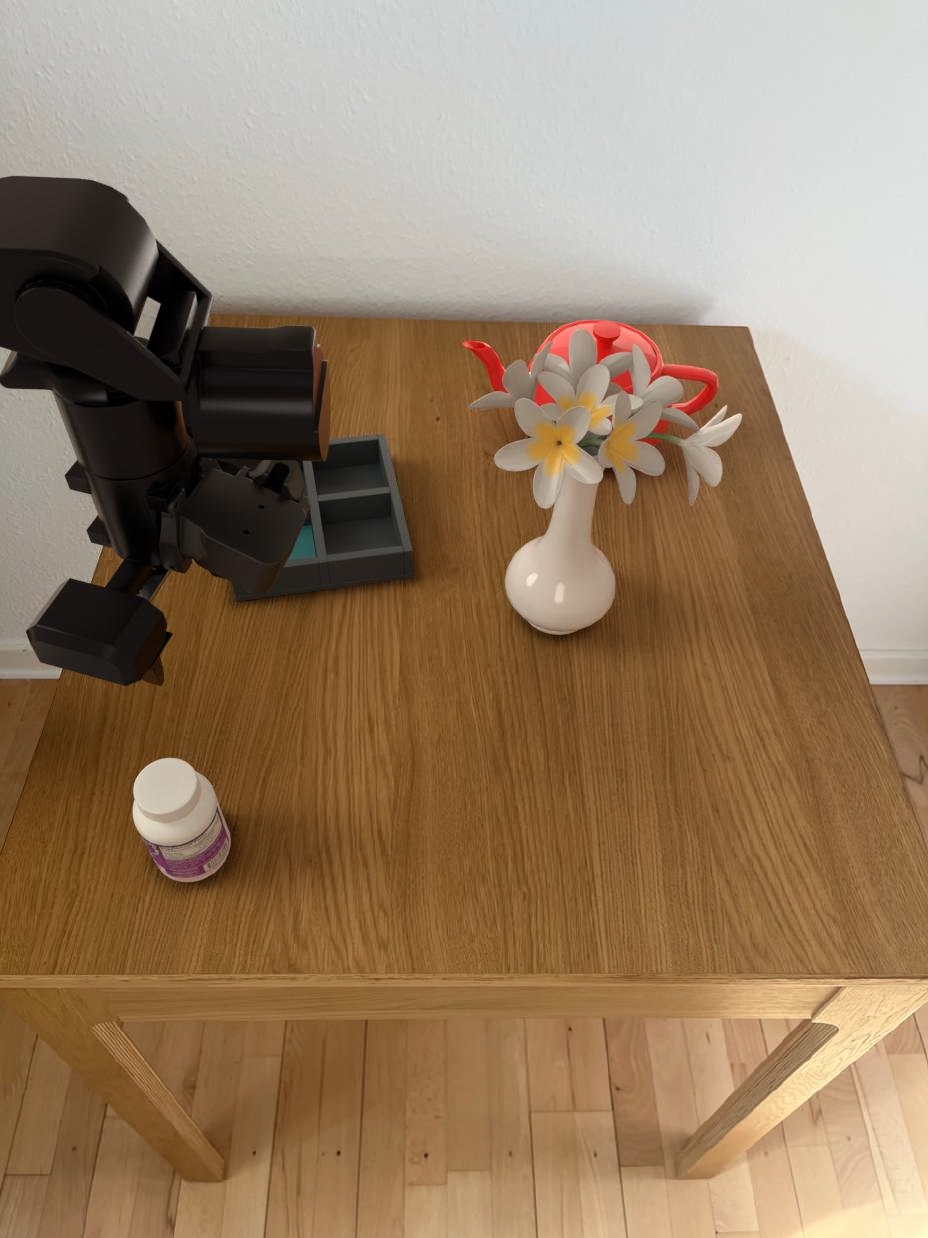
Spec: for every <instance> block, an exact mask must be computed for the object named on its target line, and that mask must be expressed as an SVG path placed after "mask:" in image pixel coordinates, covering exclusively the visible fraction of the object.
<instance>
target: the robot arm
mask: <svg viewBox="0 0 928 1238" xmlns="http://www.w3.org/2000/svg"><path fill="white" fill-rule="evenodd" d="M148 298H149V299H151V300H153V301H154V302H157V303H158V304H160V305H159V308H158V311H157V313H156V317H155V320H154V322H153V325H152V328H151V332H150V334H149V337H148V338H146V337H142V336H138V335H135V334H136V332H137V328H138V325H139V322H140V320H141V317H142V314H143V312H144V308H145V305H146V303H147V300H148ZM214 301H215V297H214V294H213V293H212V292H211V291H210V290H209V289H208V288H207V287H206V286H205V285H204V284H203V283H202V282H201V281H200V280H199V279H197V277H196V276H195V275H194V274H193V273H192V272H191V271H189V270H188V268H187V267H186V266H184V264H183V263H182V262H181V261H179V259H178V258H176V256H174V255H173V254H172V253H171V252H170V250H168V249H167V248H166V247H165V245H163V244H162V242H160V241H159V239H157V238H156V237H155V235H154V232H153V231H152V229H151V227H150V226H149V224H148V222H147V220H146V218H145V217H144V216H143V215H142V214H141V213H140V212H139V211H138V210H137V209H136V208H135V207H134V206H133V205H132V203H131V202H130V199H129V197H128V196H127V195H126V194H124V193H122V192H121V191H119V190H118V189H116V188H115V187H112V186H111V185H107V184H105V183H102V182H101V181H100V182H99V181H97V180H93V179H87V178H79V177H58V176H57V177H56V176H55V177H54V176H32V175H9V176H3V177H0V348H1V349H4V350H8V351H10V352H9V354H8V356H7V359H6V361H5V363H4V365H3V367H2V369H1V371H0V386H2V387H3V388H5V389H9V390H37V391H38V390H40V391H41V390H43V391H50V392H51V393H52V396H53V398H54V402H55V404H56V406H57V409H58V412H59V415H60V417H61V419H62V422H63V425H64V428H65V430H66V433H67V436H68V438H69V440H70V441H69V442H70V444H71V447H72V449H73V451H74V454H75V458H76V460H75V461H74V463H73V464H72V465H71V467H70V468H69V469H68V470H67V471H66V472H65V474H64V478H65V480H66V483H67V485H68V488H69V490H71V491H74V492H79V493H82V494H87V495H90V497H91V499H92V502H93V505H94V507H95V511H96V513H97V515H96V516H95V518H94V519H93V521H91V523H90V524H89V526H88V527H87V529H86V533H87V536H88V539H89V542H90V543H91V544H95V545H99V546H103V547H106V548H110V549H112V550H113V552H114V554H115V555H116V556H118V557H119V558H120V559H122V560H123V561H122V562H121V563H120V565H119V566H118V568H117V569H116V570H115V572H114V573H113V575H112V577H111V578H110V579H109V580H108V582H107V583H106V584H105V586H101V585H98V584H94V583H91V582H88V581H83V580H80V579H76V578H72V577H69V578H68V579H67V580H65V581H63V582H62V583H60V584H59V585H58V587H56V590H55V591H54V592H53V593H52V595H51V596H50V597H49V598H48V600H47V601H46V603H44V605H43V607H42V608H41V609H40V611H39V612H38V614H37V615H36V616H35V617H34V618H33V620H32V622H31V623H30V624H29V626H28V627H27V628H26V630H25V633H26V636H27V639H28V642H29V644H30V646H31V648H32V650H33V652H34V654H35V656H36V657H37V659H38V661H39V663H41V664H45V665H48V666H52V667H55V668H59V669H62V670H67V671H70V672H74V673H76V674H79V675H84V676H87V677H90V678H91V677H92V678H95V679H98V680H102V681H105V682H109V683H112V684H116V685H120V686H123V687H129V686H130V685H133V684H136V683H138V682H141V681H143V682H145V683H147V684H151V685H155V686H158V687H162V686H163V685H164V683H165V671H164V666H163V662H162V658H161V654H162V653H163V651H164V650H165V648H166V646H167V645H168V643H169V642H170V640H171V638H172V637H173V635H174V633H173V632H171V631H167V629H168V622H167V619H166V616H165V613H164V612H163V611H162V610H161V609H160V608H158V607H157V606H156V605H155V604H154V603H152V602H153V601H154V599H155V598H156V596H157V594H158V592H159V591H160V590H161V588H162V587H163V586H164V583H165V582H166V580H167V579H168V577H169V576H170V575H171V573H172V571H173V572H176V573H180V574H184V575H185V574H187V572H188V571H189V569H190V568H191V566H192V564H193V561H194V563H195V564H196V565H198V567H200V568H202V569H204V570H206V571H208V572H209V573H210V575H211V576H213V577H215V578H218V579H224V580H227V581H229V582H231V583H232V582H233V583H235V584H237V585H239V586H240V587H241V588H242V589H243V590H245V591H247V592H249V593H252V594H256V595H261V594H265V593H267V592H269V591H270V590H271V589H272V587H273V586H274V584H275V582H276V580H277V578H278V576H279V574H280V572H281V571H282V569H283V567H284V565H285V563H286V562H287V560H288V558H289V557H290V555H291V553H292V551H293V548H294V546H295V543H296V541H297V539H298V536H299V534H300V531H301V529H302V526H303V524H304V521H305V518H306V516H307V515H308V513H309V511H310V509H311V506H310V504H309V503H308V499H309V498H307V497H305V496H302V494H303V491H304V489H305V484H304V480H303V477H302V473H301V469H300V466H299V463H298V462H296V461H322V462H324V461H326V458H327V454H328V448H329V439H330V435H331V434H330V433H331V377H330V365H329V364H330V363H329V360H328V359H325V357H324V351H323V347H322V345H321V344H320V343H319V344H318V340H317V339H318V338H317V330H316V328H315V327H313V326H312V325H299V324H295V325H294V324H287V325H286V324H285V325H281V326H275V327H249V326H248V327H245V326H244V327H242V326H213V325H212V324H211V319H210V314H211V312H212V308H213V305H214Z"/></svg>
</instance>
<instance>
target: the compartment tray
mask: <svg viewBox="0 0 928 1238" xmlns="http://www.w3.org/2000/svg"><path fill="white" fill-rule="evenodd" d="M392 460H393V459H392V456H391V452H390V448H389V443H388V439H387V436H386V433H378V434H377V433H375V434H374V433H373V434H365V435H364V434H363V435H356V436H355V435H354V436H346V437H340V438H339V437H337V438H329V448H328V454H327V458H326V461H324V462H322V461H296V462H298V463H299V466H300V469H301V473H302V477H303V480H304V484H305V489H304V491H303V494H302V496H305V497H307V498H309V499H308V503H309V504H310V506H311V509H310V511H309V513H308V515H307V516H306V518H305V521H304V524H303V526H302V529H301V531H300V534H299V536H298V539H297V541H296V543H295V546H294V548H293V551H292V553H291V555H290V557H289V558H288V560H287V562H286V563H285V565H284V567H283V569H282V571H281V572H280V574H279V576H278V578H277V580H276V582H275V584H274V586H273V587H272V589H271V590H270V591H269V592H267V593H265V594H261V595H256V594H252V593H249V592H247V591H245V590H243V589H242V588H241V587H240V586H239V585H237V584H235V583H233V582H231V584H232V588H233V592H234V596H235V601H236V602H242V601H250V600H258V599H265V598H274V597H280V596H281V597H282V596H288V595H289V596H290V595H296V594H303V593H312V592H319V591H325V590H333V589H340V588H348V587H355V586H362V585H363V586H364V585H370V584H378V583H384V582H385V583H386V582H393V581H401V580H409V579H413V578H414V550H413V545H412V540H411V536H410V532H409V529H408V524H407V523H408V522H407V520H406V515H405V511H404V506H403V502H402V498H401V494H400V489H399V485H398V482H397V477H396V473H395V469H394V463H393V461H392Z"/></svg>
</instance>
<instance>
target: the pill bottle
mask: <svg viewBox="0 0 928 1238" xmlns="http://www.w3.org/2000/svg"><path fill="white" fill-rule="evenodd" d="M132 793H133V799H134V800H133V804H132V819H133V823H134V825H135V829H136V831H137V832H138V833H139V836H140V837H141V839H142V841H143V843H144V844H145V846H146V848H147V850H148V852H149V854H150V855H151V857H152V859H153V861H154V862H155V864H156V866H157V868H158V869H159V870H160V872H161V873H162V874H163V875H164V876H166V877H167V878H169V879H171V880H173V881H175V882H180V883H181V882H182V883H194V882H198V881H202V880H204V879H206V878H208V877H209V876H213V874H215V873H216V872H217V871H218V870H219V869H220V868H221V867H222V866H223V865H224V863H225V862H226V860H227V858H228V855H229V853H230V849H231V846H232V845H231V844H232V840H231V839H232V838H231V833H230V830H229V827H228V824H227V822H226V819H225V816H224V814H223V810H222V808H221V806H220V803H219V800H218V797H217V794H216V791H215V789H214V787H213V785H212V783H211V782H210V781H209V779H208V778H206V777H205V776H204V775H203V774H201V773H199V772H198V771H196V770H195V769H194V767H193V766H192V765H191V764H190V763H189V762H187V761H185V760H183V759H181V758H177V757H165V758H160V759H157V760H154V761H152V762H150V763H149V764H147V765H146V766H145V767H144V768H143V769H142V770H141V771H140V772H139V773H138V775H137V777H136V778H135V781H134V783H133V789H132Z"/></svg>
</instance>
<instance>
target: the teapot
mask: <svg viewBox="0 0 928 1238" xmlns="http://www.w3.org/2000/svg"><path fill="white" fill-rule="evenodd" d="M577 329H585V330H587V331H588V332H590V334H591V335H592V336H593V338H594V340H595V342H596V347H597V362H596V364H599V363H600V361H601V360H602V359H604V358H605V357H607V356H610V355H612V354H615V353H620V352H630V353H633V350H632V348H633V345H634V344H635V345H637V346H638V347H639V348H640V349H641V351H642V352H643V354H644V355H645V357H646V359H647V361H648V364H649V367H650V371H651V380H650V382H649V385H650V384H651V383H653V382H654V381H655V380H656V379H658V378H660V377H663V376H671V377H673V378H675V379H677V380H678V379H680V380H688V381H695V382H700V383H702V384H706V385H705V387H704V388H703V389H702V390H701V391H700V392H698V394H697V395H696V396H694V397H693V398H691V399H689V400H688V401H687V402H684V403H673V404H671V405H669V406H667V407H666V408H676V409H679V410H681V411H682V412H684V413H685V414H687V415H688V416H689V417H690V416H692V415H693V414H695V413H697V412H700V411H701V410H703V409H704V408H706V407H707V405H709V404H710V403H711V402H712V401H713V400H714V399H715V396H716V394H717V392H718V390H719V389H720V388H719V387H720V382H719V377H718V375H717V374H716V373H715V372H713V371H712V370H709V369H707V368H703V367H698V366H692V365H683V364H670V363H664V361H663V356H662V353H661V351H660V348H659V347H658V345H657V344H656V343H655V342H654V341H653V339H651V338H650V337H649V336H648V335H646V334H645V333H644V332H643V331H641V330H638V329H636V328H634V327H632V326H631V325H628V324H625V323H622V322H618V321H617V322H616V321H611V320H606V319H584V320H580V319H579V320H576V321H573V322H570V323H567V324H563V325H560V326H559V327H558V328H557V329H556V330H555V331H552V333H551V334H549V335H548V336H547V337H546V339H544V341H543V342H542V344H541V345H540V346H539V348H538V350H537V351H536V352H535V354H534V355H536V354H538V353H539V352H540V351H541V350H542V349H543V348H544V347H545V346H546V345H547V344H548V343H549V342H550V341H552V340H553V344H552V346H551V348H550V351H549V353H551V354H554V355H557V356H559V357H561V358H563V359H564V360H565V361H566V362H567V364H568V366H569V341H570V338H571V335H572V334H573V332H575V331H576V330H577ZM461 344H462V345H463V346H464V347H465V348H466V349H468V350H470V351H471V352H472V354H474V355H475V356H476V358H477V359H479V360H480V361H481V362H482V364H483V365H484V366H485V369H486V372H487V375H488V378H489V382H490V386H491V387H492V389H493V392H496V391H502V392H505V393H507V394H509V393H508V392H507V391H506V389H505V388H504V386H503V383H502V378H503V375H504V372H505V371H506V368H505V367H504V366H503V365H502V363H501V360H500V358H499V356H498V353H496V352H495V350H494V349H493V348H492V347H491V345H490V344H488V343H486V342H482V341H477V340H466V341H464V342H462V343H461ZM533 359H534V356H533V357H532V359H531V360H530V362H529V364H528V365H527V369H528V372H530V368H531V365H532V363H533V361H534V360H533ZM569 368H570V366H569ZM633 368H634V366H633ZM542 371H544V370H543V369H542ZM610 382H613V383H615V384H617V385H619V386H620V387H621V388H622V390H623V391H625V392H626V393H627V394H631V395H633V384H632V380H631V376H630V372H629V370H627V371H626V372H624V373H622V374H621V375H619V376H617V377H615V378H613V379H612V380H611V381H610ZM649 385H648V386H649ZM604 400H605V399H603V401H604ZM534 401H535V403H536V404H537V405H538V406H542V405H544V404H547V403H555V404H557V403H556V402H555V400H554V399H553V398H552V397H551V396H550V395H549V394H548V393H547V392H546V390H545V389H544V388H543V387H542V386H541V384H540V383H539V381H538V384H537V388H536V392H535V399H534ZM603 401H602V402H603ZM511 409H512V410H514V411H515V408H511ZM663 409H665V408H663ZM608 419H609V420H610V422H612V417H610V418H608ZM670 423H671V422H669V421H666V420H662V419H659V421H658V423H657V425H656V426H655V428H654V429H653V430H652V432H657V433H663V434H667V432H668V431H669V426H670ZM529 438H534V437H531V436H529ZM635 441H641V442H646V443H648V444H650V445H652V446H654V447H655V448H656V446H657V445H658V444H659V443H660V442H661V441H662V440H660V439H639V440H635Z"/></svg>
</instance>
